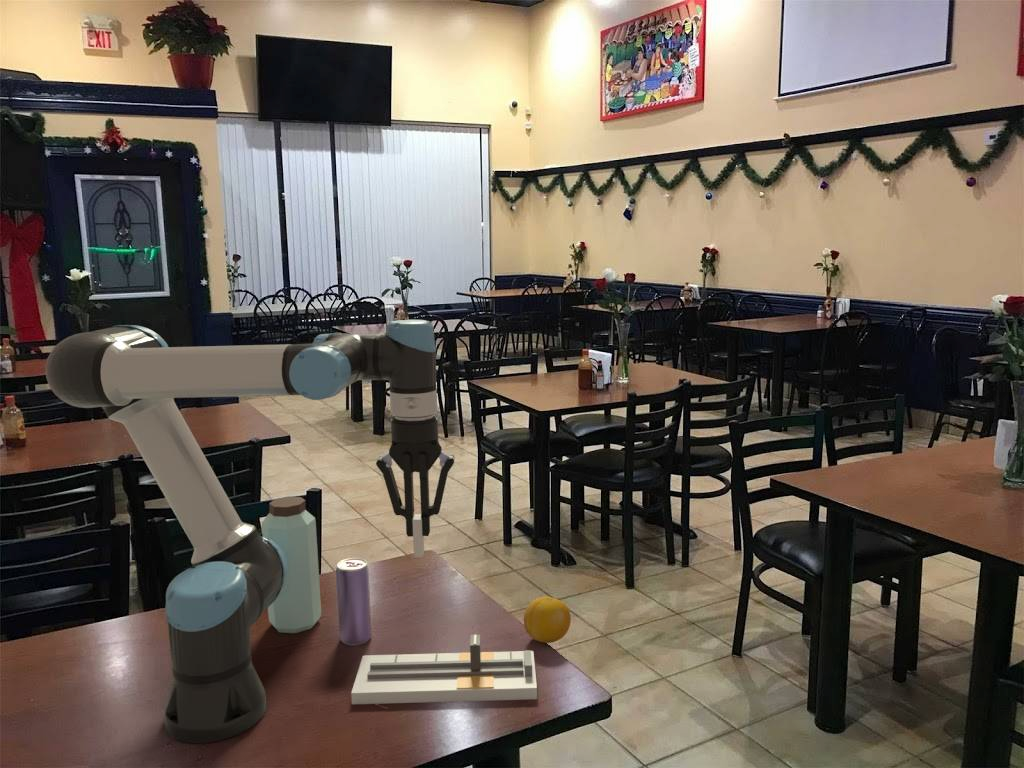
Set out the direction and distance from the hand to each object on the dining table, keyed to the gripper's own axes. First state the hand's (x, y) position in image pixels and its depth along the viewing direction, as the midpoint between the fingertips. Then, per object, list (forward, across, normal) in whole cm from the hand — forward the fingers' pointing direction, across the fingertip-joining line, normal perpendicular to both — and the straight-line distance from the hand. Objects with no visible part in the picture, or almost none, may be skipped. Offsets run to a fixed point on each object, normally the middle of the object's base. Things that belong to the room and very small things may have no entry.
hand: (419, 553), depth 135 cm
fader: (+20, +9, -2) cm, 22 cm away
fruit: (+22, +22, +12) cm, 34 cm away
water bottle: (+23, -27, +21) cm, 41 cm away
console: (+22, +4, -2) cm, 23 cm away
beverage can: (+23, -14, +14) cm, 30 cm away
